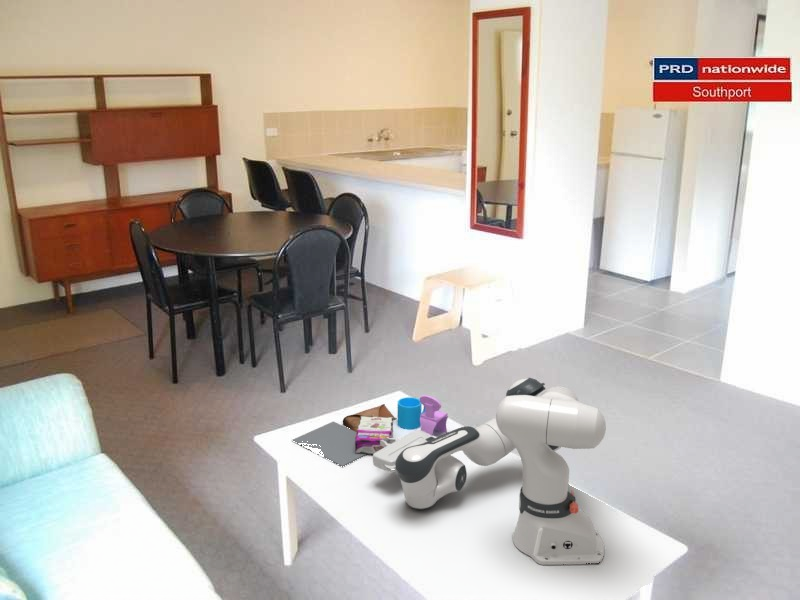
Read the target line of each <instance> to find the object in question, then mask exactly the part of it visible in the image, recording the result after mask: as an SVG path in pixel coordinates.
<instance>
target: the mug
mask: <svg viewBox="0 0 800 600" xmlns="http://www.w3.org/2000/svg"><path fill="white" fill-rule="evenodd" d="M422 406H423V409H422ZM423 413H425V406H424V405H423V404H421V402H420V398H417V397H411V396H410V397H409V396H407V397H402V398H400V399H398V401H397V426H398V428H400V429H403V430H407V431H408V430H409V431H411V430H418V428H421V423H420V417H421V414H423Z"/></svg>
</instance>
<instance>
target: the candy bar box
mask: <svg viewBox="0 0 800 600" xmlns="http://www.w3.org/2000/svg"><path fill="white" fill-rule="evenodd" d="M393 435H394V420H393V417H364V416H361V417H360V421H359V426H358V430H357V434H356V438H355V453H369V454H368V455H370V454H371V455H373V454H374V453H375V452H377V451H379V450H381V449H383V448H384V447H383V446H381V445H380V441H381V440H382V439H384V438H386V437H389V438H393Z"/></svg>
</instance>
